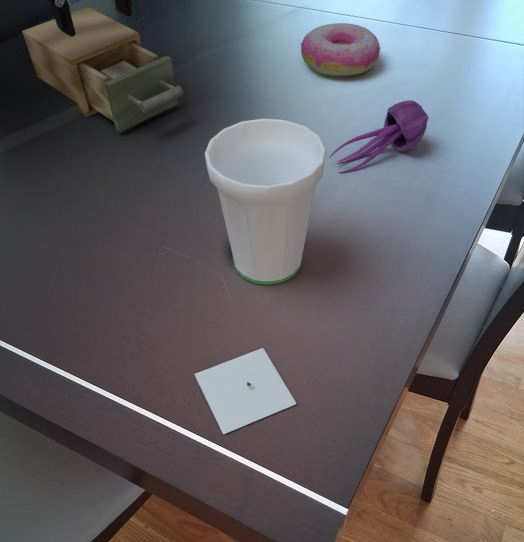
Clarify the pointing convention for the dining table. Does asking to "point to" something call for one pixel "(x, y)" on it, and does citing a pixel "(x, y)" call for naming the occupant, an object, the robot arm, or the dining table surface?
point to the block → (117, 70)
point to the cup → (266, 193)
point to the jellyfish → (392, 132)
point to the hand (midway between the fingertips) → (97, 23)
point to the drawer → (129, 85)
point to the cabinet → (74, 50)
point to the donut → (340, 49)
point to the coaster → (244, 390)
